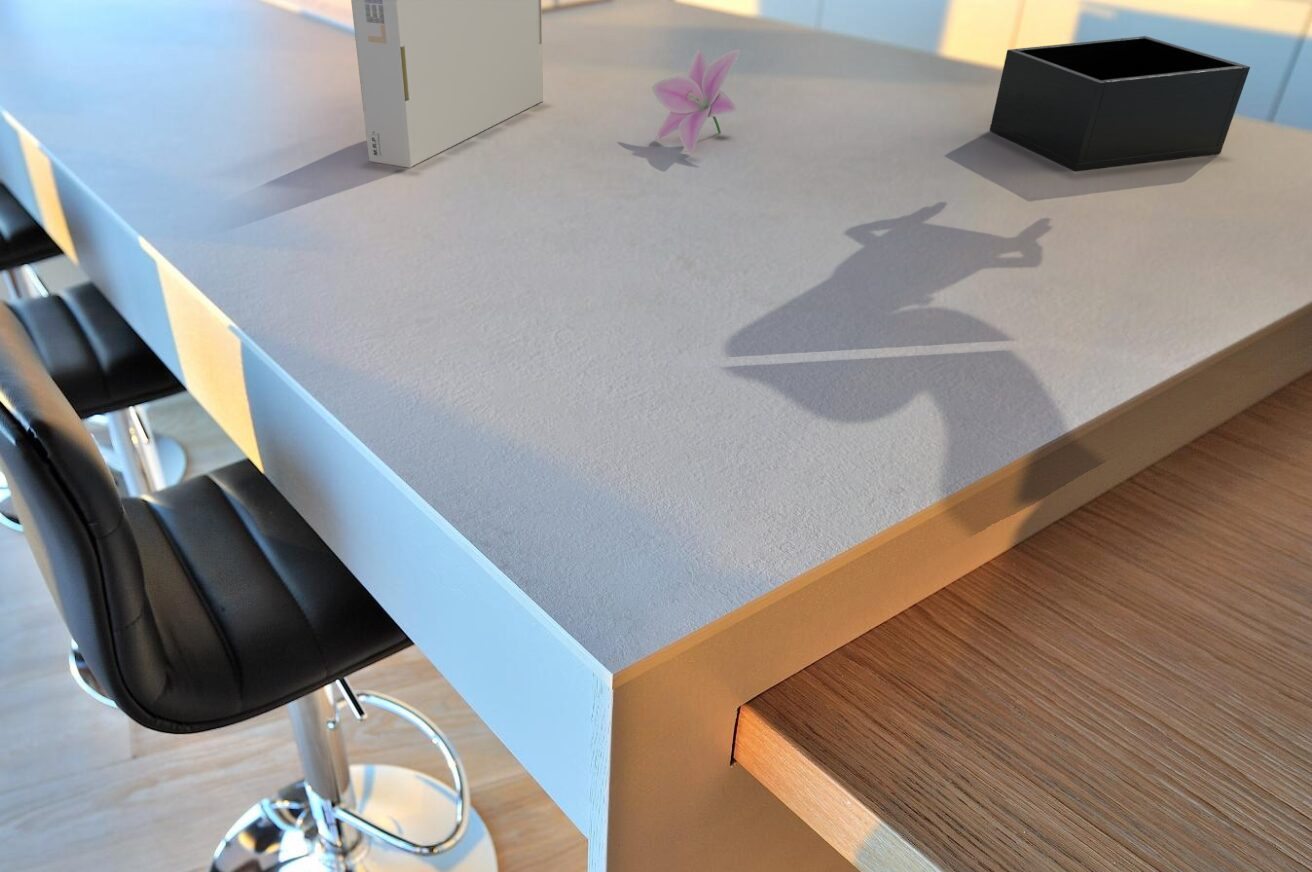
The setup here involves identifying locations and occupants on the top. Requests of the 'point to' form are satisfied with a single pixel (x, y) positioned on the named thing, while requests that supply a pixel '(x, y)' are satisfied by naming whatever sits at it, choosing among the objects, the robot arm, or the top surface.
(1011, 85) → the black open box
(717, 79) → the lily
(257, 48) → the top surface
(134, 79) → the top surface
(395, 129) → the packaging
